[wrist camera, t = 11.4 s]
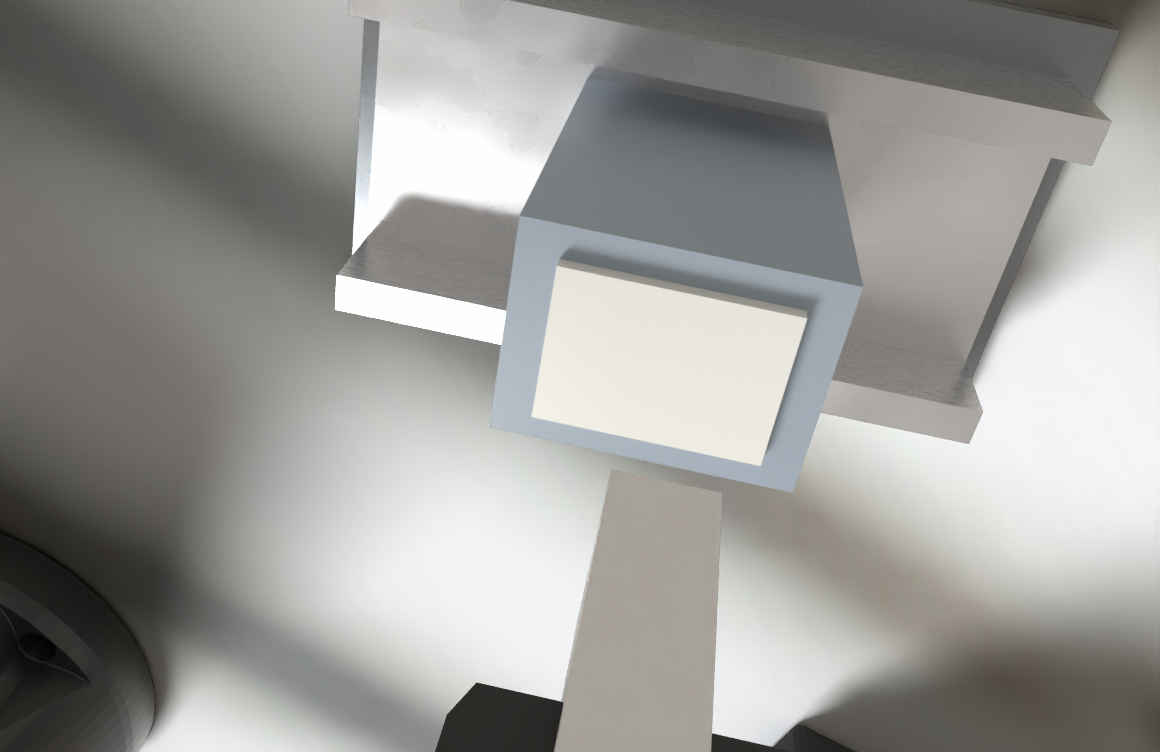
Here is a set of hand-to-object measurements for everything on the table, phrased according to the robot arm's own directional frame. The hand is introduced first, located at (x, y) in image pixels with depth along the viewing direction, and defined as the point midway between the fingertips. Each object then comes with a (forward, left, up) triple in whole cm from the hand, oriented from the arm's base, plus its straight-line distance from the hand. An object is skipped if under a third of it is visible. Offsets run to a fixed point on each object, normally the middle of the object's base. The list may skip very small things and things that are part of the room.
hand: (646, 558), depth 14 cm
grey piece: (0, 0, -16) cm, 16 cm away
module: (0, 0, -15) cm, 15 cm away
